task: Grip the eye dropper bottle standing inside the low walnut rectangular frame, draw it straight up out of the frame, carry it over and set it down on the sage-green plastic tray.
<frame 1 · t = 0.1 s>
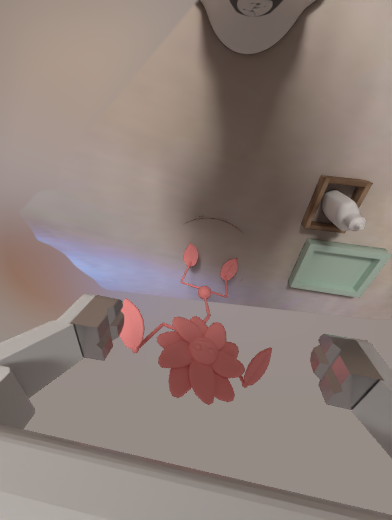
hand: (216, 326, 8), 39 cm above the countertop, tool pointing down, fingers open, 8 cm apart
tray: (332, 266, 49), on the countertop
walnut rectangular frame: (330, 203, 41), on the countertop
red leafy plant shape: (216, 246, 51), on the countertop
eye dropper bottle: (330, 203, 41), resting in walnut rectangular frame
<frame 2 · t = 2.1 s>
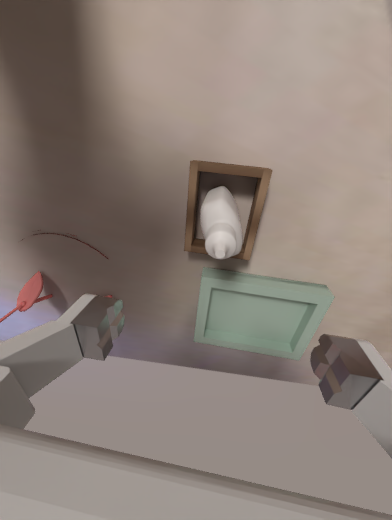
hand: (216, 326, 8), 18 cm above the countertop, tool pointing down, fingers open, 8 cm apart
tray: (252, 310, 31), on the countertop
walnut rectangular frame: (223, 209, 24), on the countertop
red leafy plant shape: (78, 276, 33), on the countertop
eye dropper bottle: (223, 209, 24), resting in walnut rectangular frame
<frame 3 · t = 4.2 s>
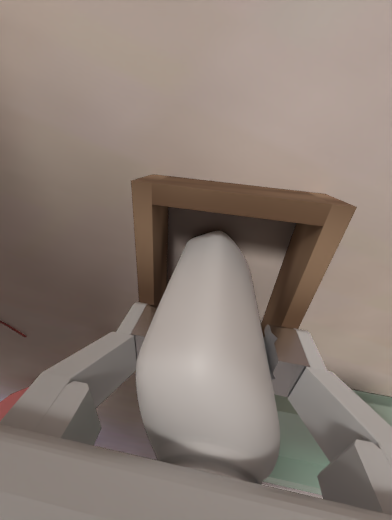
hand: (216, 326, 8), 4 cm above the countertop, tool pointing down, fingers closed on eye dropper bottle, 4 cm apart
tray: (271, 419, 18), on the countertop
walnut rectangular frame: (220, 273, 12), on the countertop
eye dropper bottle: (220, 271, 12), resting in walnut rectangular frame, touching gripper
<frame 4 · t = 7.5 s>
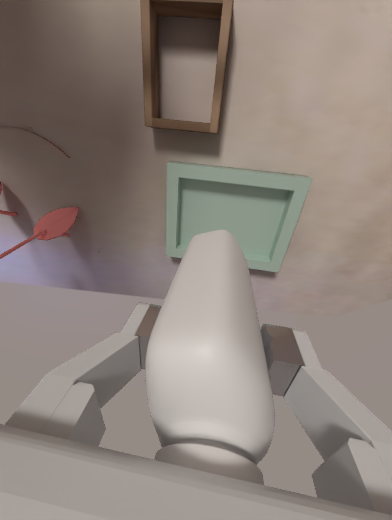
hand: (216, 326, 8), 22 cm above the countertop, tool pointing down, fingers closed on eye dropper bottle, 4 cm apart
tray: (228, 217, 29), on the countertop
walnut rectangular frame: (187, 75, 21), on the countertop
red leafy plant shape: (41, 186, 30), on the countertop
eye dropper bottle: (219, 269, 12), point 18 cm above the countertop, touching gripper
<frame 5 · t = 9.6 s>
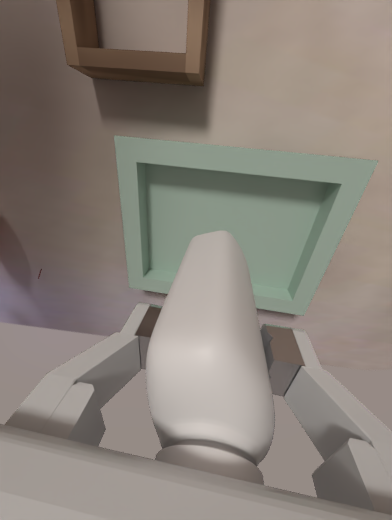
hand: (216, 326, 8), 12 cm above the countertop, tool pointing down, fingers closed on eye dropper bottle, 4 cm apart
tray: (224, 229, 18), on the countertop
eye dropper bottle: (220, 270, 12), point 7 cm above the countertop, touching gripper
when the fingers open (6 cm above the countertop, at t = 11.1 s): eye dropper bottle moves 2 cm, resting on tray.
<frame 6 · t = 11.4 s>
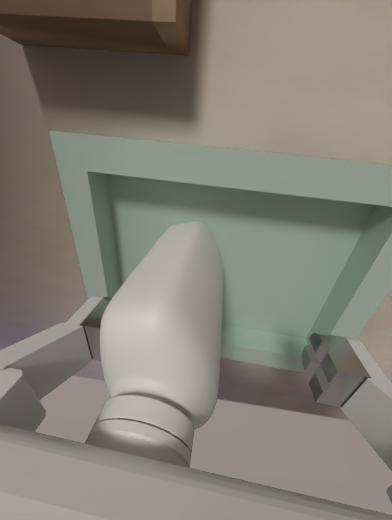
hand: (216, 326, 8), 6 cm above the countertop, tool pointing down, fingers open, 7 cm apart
tray: (221, 260, 13), on the countertop
eye dropper bottle: (196, 260, 13), point 1 cm above the countertop, touching tray
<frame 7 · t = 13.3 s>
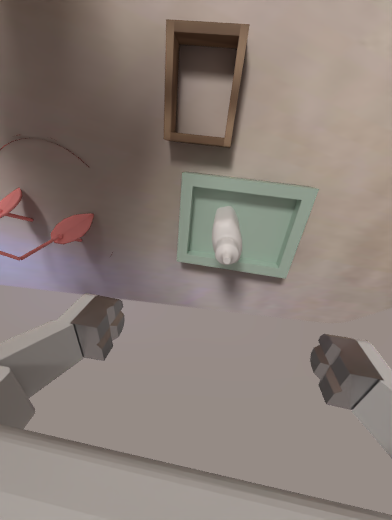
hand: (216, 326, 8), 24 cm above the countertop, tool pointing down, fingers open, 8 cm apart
tray: (237, 224, 30), on the countertop
walnut rectangular frame: (203, 95, 24), on the countertop
red leafy plant shape: (59, 193, 32), on the countertop
eye dropper bottle: (227, 224, 30), point 1 cm above the countertop, touching tray
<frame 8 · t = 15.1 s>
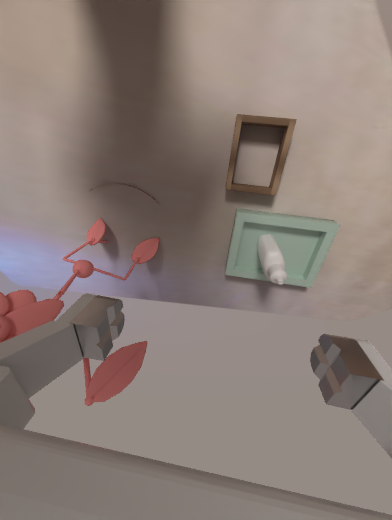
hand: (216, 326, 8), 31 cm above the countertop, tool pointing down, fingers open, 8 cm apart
tray: (273, 246, 39), on the countertop
walnut rectangular frame: (255, 157, 32), on the countertop
red leafy plant shape: (131, 222, 41), on the countertop
eye dropper bottle: (266, 246, 38), point 1 cm above the countertop, touching tray
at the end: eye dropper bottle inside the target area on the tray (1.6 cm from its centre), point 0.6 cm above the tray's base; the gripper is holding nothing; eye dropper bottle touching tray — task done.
